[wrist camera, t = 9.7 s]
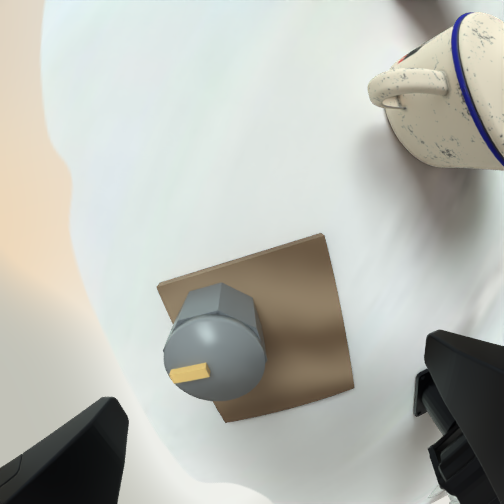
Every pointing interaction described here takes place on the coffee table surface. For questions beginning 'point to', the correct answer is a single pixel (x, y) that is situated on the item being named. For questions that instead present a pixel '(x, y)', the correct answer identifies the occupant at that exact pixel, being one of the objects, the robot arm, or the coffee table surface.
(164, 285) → the base plate
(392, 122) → the teacup with lid
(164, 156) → the coffee table surface
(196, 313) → the knob
